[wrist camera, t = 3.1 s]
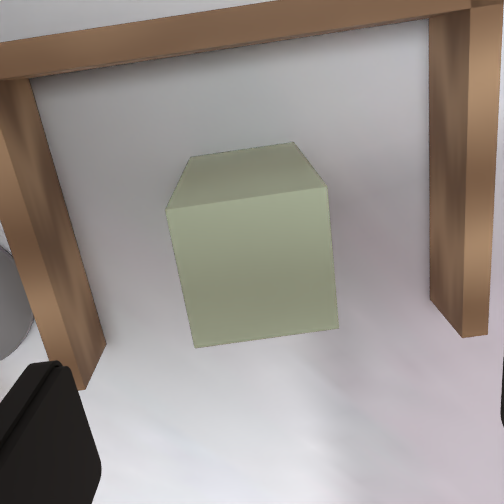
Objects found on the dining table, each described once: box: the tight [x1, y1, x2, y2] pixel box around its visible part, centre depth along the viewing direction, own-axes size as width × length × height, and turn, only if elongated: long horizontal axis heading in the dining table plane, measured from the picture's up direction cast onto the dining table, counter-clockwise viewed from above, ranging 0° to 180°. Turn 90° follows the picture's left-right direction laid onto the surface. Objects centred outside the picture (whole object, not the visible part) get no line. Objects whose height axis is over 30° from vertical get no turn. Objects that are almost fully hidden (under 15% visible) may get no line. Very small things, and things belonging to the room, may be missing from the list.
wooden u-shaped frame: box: [0, 0, 504, 391], centre depth 22 cm, size 15×20×4 cm
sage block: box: [165, 142, 339, 348], centre depth 20 cm, size 5×5×9 cm
